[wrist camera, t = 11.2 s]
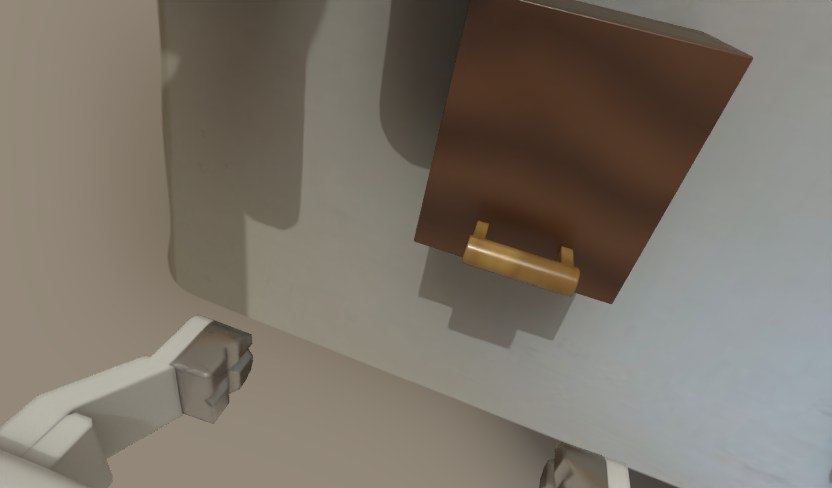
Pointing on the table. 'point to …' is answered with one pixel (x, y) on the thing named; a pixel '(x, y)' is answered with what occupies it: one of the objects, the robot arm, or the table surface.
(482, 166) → the lid
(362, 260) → the table surface
